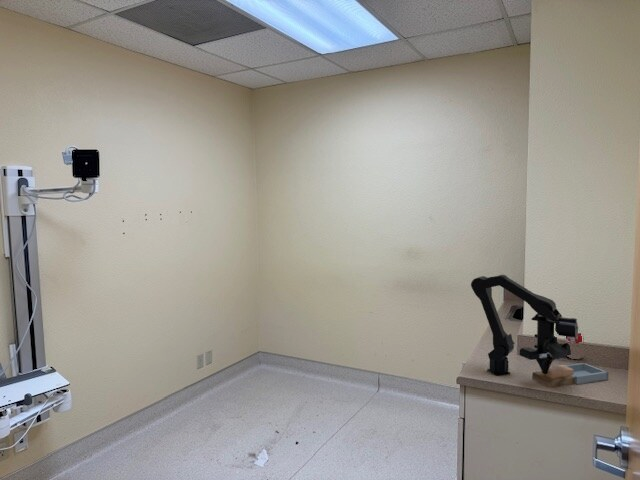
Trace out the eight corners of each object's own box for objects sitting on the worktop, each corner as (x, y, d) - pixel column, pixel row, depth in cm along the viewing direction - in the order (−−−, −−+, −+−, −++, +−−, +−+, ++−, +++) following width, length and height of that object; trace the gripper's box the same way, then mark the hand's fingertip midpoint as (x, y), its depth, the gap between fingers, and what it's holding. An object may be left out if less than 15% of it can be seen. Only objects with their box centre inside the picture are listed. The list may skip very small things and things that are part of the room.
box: (576, 384, 163) (577, 377, 163) (553, 374, 174) (553, 367, 174) (608, 379, 168) (608, 372, 167) (583, 370, 178) (583, 362, 178)
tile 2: (562, 376, 165) (563, 370, 165) (552, 371, 170) (552, 366, 170) (573, 375, 166) (573, 369, 166) (562, 370, 171) (562, 364, 171)
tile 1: (551, 378, 164) (551, 372, 164) (541, 373, 169) (541, 367, 168) (562, 376, 165) (562, 370, 165) (552, 371, 170) (552, 366, 170)
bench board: (550, 387, 161) (550, 380, 161) (532, 378, 170) (532, 372, 170) (574, 383, 164) (574, 377, 164) (555, 375, 173) (555, 369, 173)
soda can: (585, 361, 188) (586, 333, 187) (567, 360, 189) (568, 333, 189) (579, 355, 195) (579, 329, 194) (561, 355, 196) (562, 328, 196)
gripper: (541, 341, 154) (540, 384, 155) (583, 336, 159) (582, 378, 160) (518, 333, 165) (518, 373, 166) (559, 328, 170) (558, 368, 171)
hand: (544, 373), depth 166 cm, fingers closed
